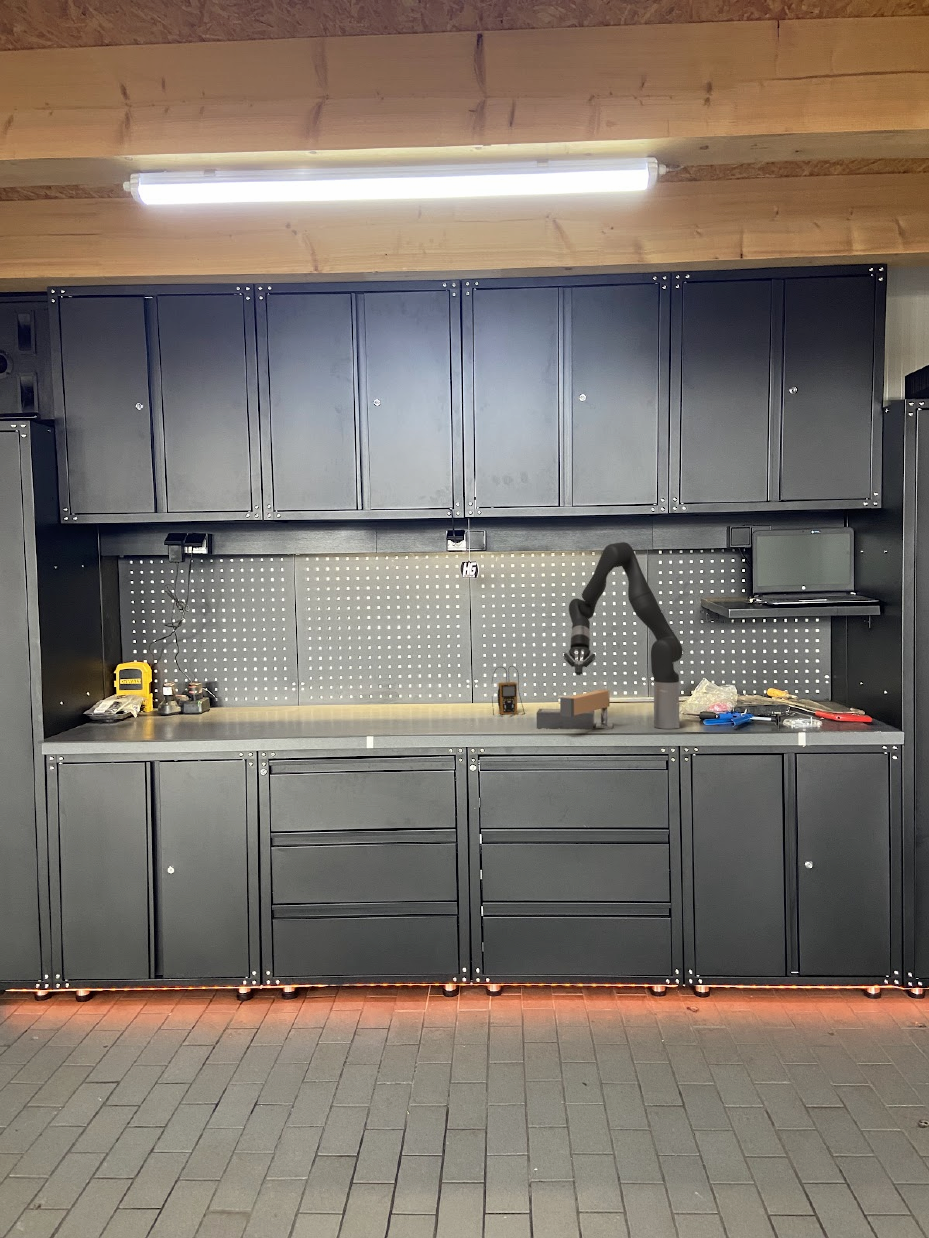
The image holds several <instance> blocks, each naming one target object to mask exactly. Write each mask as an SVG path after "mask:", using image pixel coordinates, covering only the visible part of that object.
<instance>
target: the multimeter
mask: <svg viewBox="0 0 929 1238" xmlns="http://www.w3.org/2000/svg"><path fill="white" fill-rule="evenodd" d="M510 667H513V668H515V666H513V665H509V667H508V672H507V669H506V668H505V667H503V666H501V668H503V669H504V670H505V682H499V683H498V689H497V704H498V705H497V706H498V715H499V716H498V717H504V715H509V717H510V716H511V717H513V716H515V715H518V695H519V700H520V703H521V707H522V710H523V715H525V714H526V712H525V708H524V706H523V702H522V698H521V693H520V686H519V684H520V683H519V682H520V681H519V678H520V677H519V676H520V675H519V670H518V669H517V668H515V669H516V673H517V682H515V681H511V679H510V675H508V674H507V673H510ZM499 668H500V666H497V667H496V668H495V670H494V671H493V675H492V679H491V683H493V682H494V675H495V673H496V670H497V669H499ZM491 703H492V706H494V701H493V697H491ZM494 711H495V710H494V709H492V713H493V714H492V715H495V713H494ZM502 714H504V715H502Z"/></svg>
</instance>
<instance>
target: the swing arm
mask: <svg viewBox="0 0 929 1238" xmlns="http://www.w3.org/2000/svg"><path fill="white" fill-rule="evenodd" d="M610 698H611V697H610V690H609V689H597V690H594V691H589V692H585V693H581V694H575V695H571V696H566V697H564V696H563V697H560V699H559V700H560V702H559V704H560V707H559V709H560V716H566V717H573V716H574V715H578V714H582V713H586V712H590V711H594V712H595V711H597V710H601V709H602V708H606V707H607V708H609V707H610V706H611V705H610V701H611V700H610Z"/></svg>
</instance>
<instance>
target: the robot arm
mask: <svg viewBox="0 0 929 1238" xmlns="http://www.w3.org/2000/svg"><path fill="white" fill-rule="evenodd" d="M595 567H596V568H595V569H594V572H593V574H592V576H591V578H590V579H589V582H588V583H587V585H586V586H585V587H584V589H583V590H582V593H581V597H582V599H580V598H577V597H576V598H573V599H572V600H571V601H570V602H569V604H568V613H569V616H570V620H571V624H572V625H571V633H570V646H569V650H568V652H567V653H566V652H564V653H563V659H564V660H565V662H567V663H568V665H569V666H570V667H571V668H573V667H574V673H575V675H577V676H581V675H582V674H583V669H584V668H588V667H589V665H591V664H592V663H593V662H594V661H595V660H596V653H595V652H594V653H592V652H591V650H590V643H591V632H590V625H591V623H590V619H591V618H593V616H594V615H595V610H596V607H597V604H598V602H599V599H600V598H601V597H602V595H603V594H604V591H606V590H605V589H606V586H607V577H608V575H609V574H610V572H612V570H614V568H620V567H621V568H622V569H623V571H624V573H625V574H626V578H627V580H628V581H627V582H628V589H627V595H628V596H627V598H628V601H629V604H630V606H631V607H632V610H633V611H634V613H635V614H636V616H637V618H638V619H639V620H640V621H641V622H642V623H643V624H644V625H645V626H646V627H647V628H648V629H649V630H650V631H651V633H652V634H653V635H654V637H655V639H656V640H655V641H654V642H653V644H652V645H651V647H650V663H651V665H650V666H651V674H652V676H653V727H654V728H656V729H664V730H665V729H666V730H667V729H669V730H670V729H671V730H673V729H680V675H679V673H677V672H676V671H675V668H674V663H676V662H679V660H681V658H682V657H683V650H684V649H683V647H682V644H681V642H680V640H679V639H678V637H677V636H676V634H675V632H674V631H673V629H672V628H671V626H670V624H669V622H668V621H667V619H666V616H665V615H664V613H663V611H662V609H661V608H660V605H659V604H658V601H657V599H656V597H655V595H654V593H653V592H652V590H651V587H650V585H649V584H648V582H647V579H646V578H645V575H644V573H643V571H642V568H641V567H640V563H639V561H638V558H637V556H636V553H635V551H634V549H633V548H632V546H631V545H630V544H629V543H628V542H624V541H622V542H615V543H611V544H610V543H609V544H608V545H606V546H605V547H604V549H603V551H602V553H601V555H600V558H599V560H598V563H597V565H596V566H595Z"/></svg>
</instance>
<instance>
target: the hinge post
mask: <svg viewBox="0 0 929 1238" xmlns="http://www.w3.org/2000/svg"><path fill="white" fill-rule="evenodd" d="M612 726H613V727H614V725H613V723H608V707H606V708H602V709H600V722H596V724H595V729H596V728H606V729H607V730H612V729H613V727H612Z"/></svg>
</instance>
